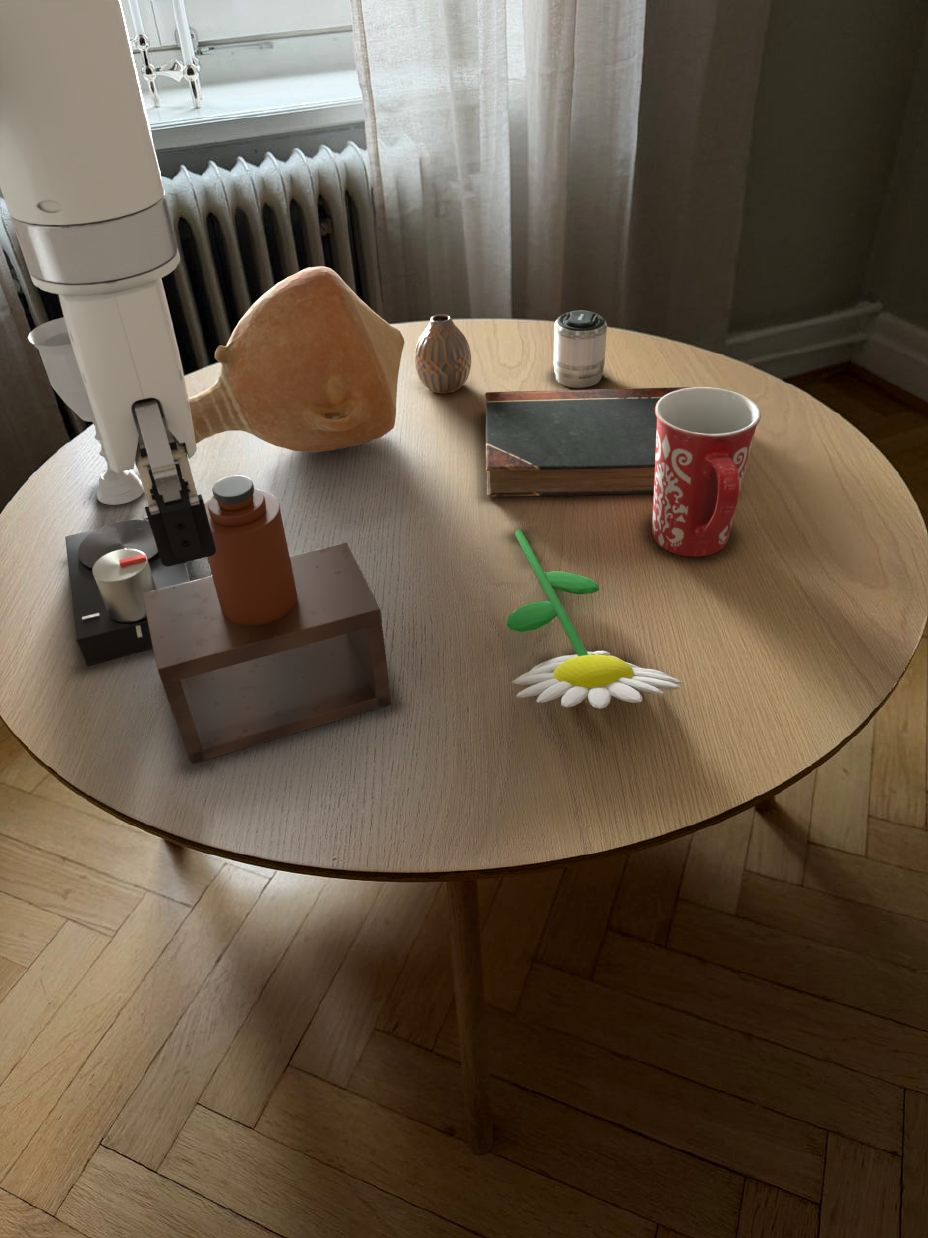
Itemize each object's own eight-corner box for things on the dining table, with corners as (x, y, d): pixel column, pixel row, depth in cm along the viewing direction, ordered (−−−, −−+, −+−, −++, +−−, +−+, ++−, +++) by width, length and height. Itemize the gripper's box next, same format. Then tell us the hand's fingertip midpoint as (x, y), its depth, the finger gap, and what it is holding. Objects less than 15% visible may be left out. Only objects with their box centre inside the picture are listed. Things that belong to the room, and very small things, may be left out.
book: (486, 498, 95) (729, 493, 94) (485, 468, 93) (734, 463, 92) (485, 416, 108) (699, 411, 108) (485, 388, 106) (703, 382, 105)
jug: (445, 376, 90) (145, 477, 85) (430, 452, 109) (183, 539, 103) (369, 206, 93) (76, 292, 88) (367, 308, 112) (124, 384, 106)
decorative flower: (455, 565, 90) (531, 768, 66) (454, 521, 88) (534, 715, 63) (579, 553, 92) (699, 746, 68) (583, 509, 90) (709, 693, 65)
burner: (81, 581, 82) (80, 579, 82) (75, 533, 88) (74, 531, 87) (172, 559, 84) (171, 556, 84) (161, 514, 90) (160, 511, 89)
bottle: (228, 634, 65) (197, 517, 59) (214, 588, 69) (184, 474, 63) (305, 613, 67) (283, 497, 60) (287, 570, 71) (264, 456, 64)
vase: (483, 384, 114) (482, 315, 109) (445, 404, 111) (441, 335, 105) (443, 368, 118) (440, 301, 112) (405, 387, 114) (399, 319, 109)
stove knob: (110, 628, 77) (93, 583, 74) (105, 597, 80) (89, 553, 77) (163, 614, 78) (149, 569, 75) (157, 584, 81) (142, 540, 78)
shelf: (190, 765, 69) (157, 669, 63) (173, 687, 76) (141, 593, 69) (392, 704, 73) (380, 608, 67) (360, 635, 80) (346, 541, 73)
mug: (633, 510, 93) (646, 387, 84) (723, 506, 93) (745, 383, 84) (658, 590, 83) (676, 460, 74) (758, 585, 83) (787, 455, 74)
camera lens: (606, 368, 117) (610, 307, 112) (599, 391, 112) (604, 329, 107) (557, 364, 118) (559, 304, 113) (548, 387, 113) (550, 325, 108)
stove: (88, 680, 77) (76, 652, 75) (74, 561, 89) (64, 534, 87) (208, 647, 79) (200, 619, 77) (178, 536, 92) (171, 510, 90)
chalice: (137, 466, 102) (88, 308, 91) (167, 490, 98) (120, 328, 87) (75, 492, 99) (16, 331, 87) (103, 518, 95) (45, 353, 83)
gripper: (18, 203, 52) (105, 463, 64) (26, 314, 40) (132, 612, 51) (152, 184, 54) (213, 440, 66) (199, 285, 42) (265, 578, 53)
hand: (178, 515), depth 58 cm, fingers open, 9 cm apart
